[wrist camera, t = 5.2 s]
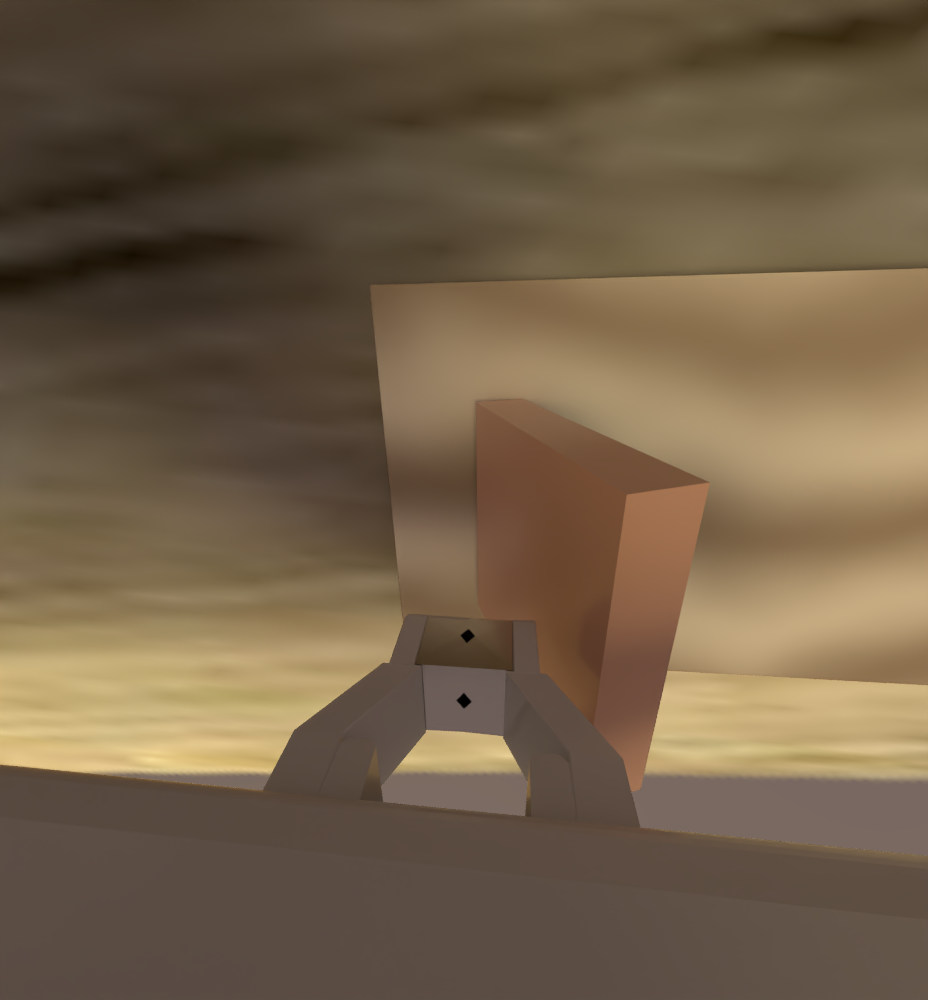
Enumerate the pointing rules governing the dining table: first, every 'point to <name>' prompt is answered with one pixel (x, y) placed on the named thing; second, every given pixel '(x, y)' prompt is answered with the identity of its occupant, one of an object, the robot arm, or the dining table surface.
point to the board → (694, 445)
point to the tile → (586, 560)
